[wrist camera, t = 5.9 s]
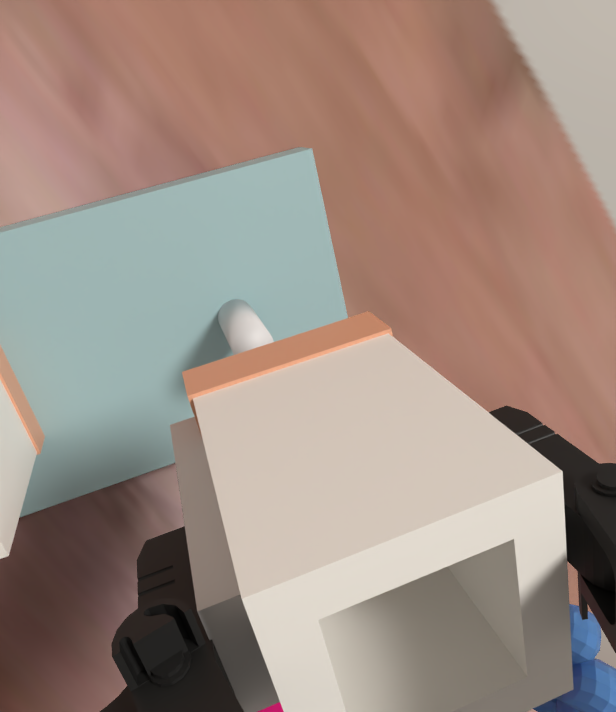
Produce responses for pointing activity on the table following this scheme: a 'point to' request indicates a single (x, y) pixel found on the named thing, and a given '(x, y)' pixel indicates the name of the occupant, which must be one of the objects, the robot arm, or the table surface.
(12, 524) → the seated sleeve
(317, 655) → the sleeve
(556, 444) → the robot arm
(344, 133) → the table surface
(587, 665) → the grapes
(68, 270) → the pin board
